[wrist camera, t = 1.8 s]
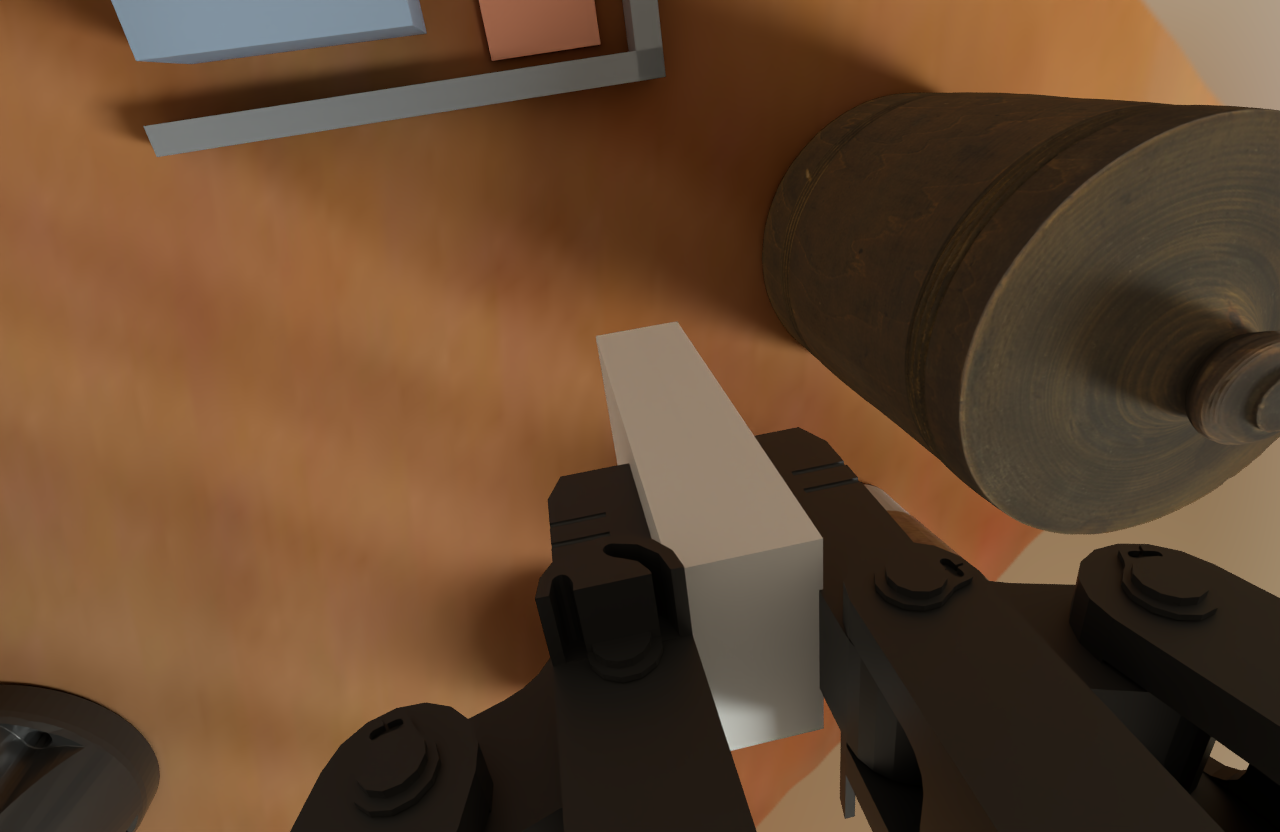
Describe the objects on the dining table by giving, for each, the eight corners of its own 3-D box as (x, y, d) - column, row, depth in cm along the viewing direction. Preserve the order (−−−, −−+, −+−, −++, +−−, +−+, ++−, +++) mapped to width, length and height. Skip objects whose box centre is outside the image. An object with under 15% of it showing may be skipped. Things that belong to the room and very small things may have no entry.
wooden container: (1002, 329, 42) (1433, 544, 22) (773, 387, 41) (1014, 665, 21) (1020, 63, 35) (1666, 38, 15) (745, 125, 34) (1064, 181, 14)
